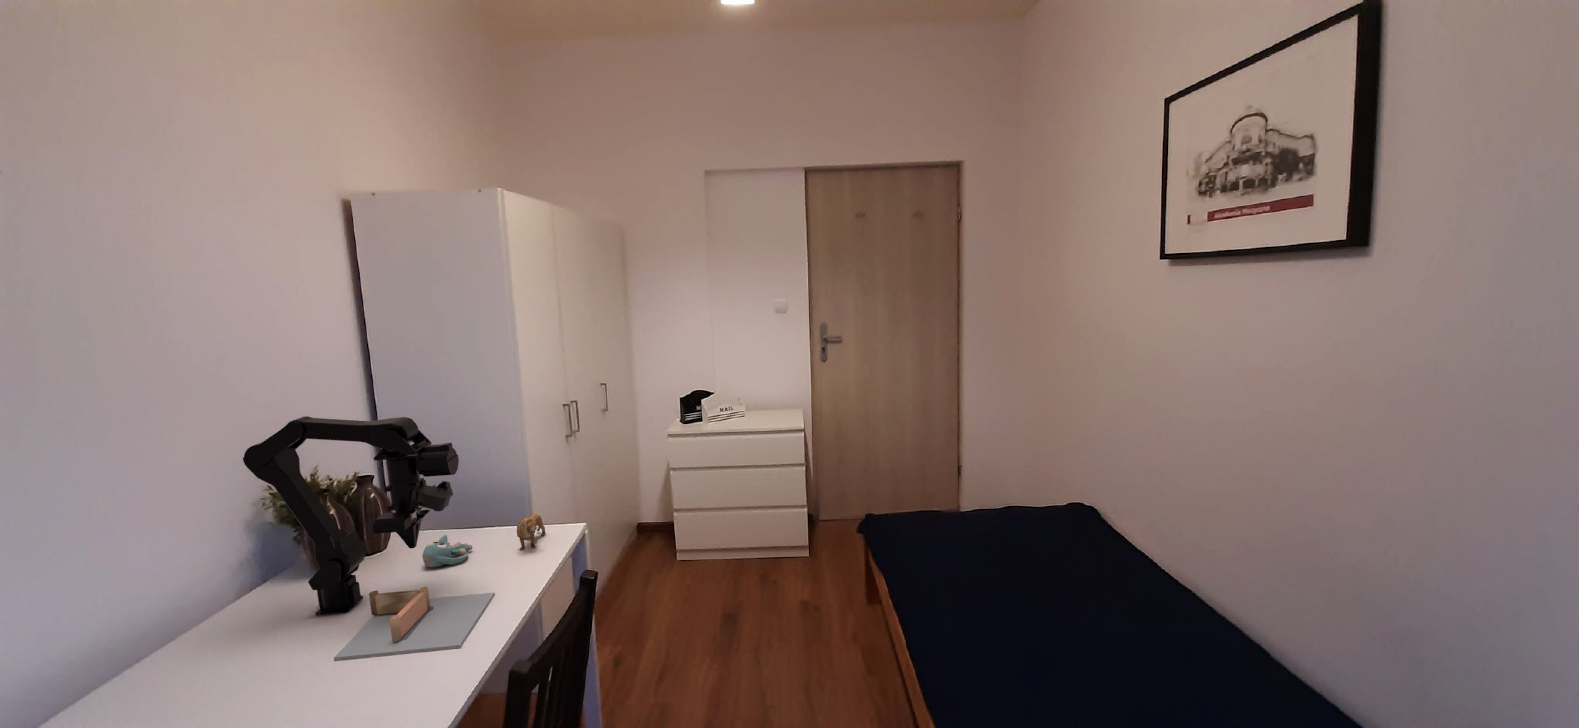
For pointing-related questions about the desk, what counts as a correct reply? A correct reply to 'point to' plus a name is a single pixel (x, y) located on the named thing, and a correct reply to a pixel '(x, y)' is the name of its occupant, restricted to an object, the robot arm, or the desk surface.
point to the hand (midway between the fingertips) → (412, 547)
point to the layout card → (420, 629)
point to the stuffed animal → (444, 553)
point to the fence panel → (409, 614)
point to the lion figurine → (529, 529)
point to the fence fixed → (390, 601)
